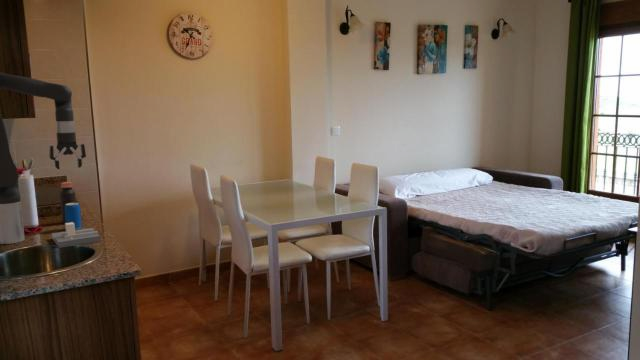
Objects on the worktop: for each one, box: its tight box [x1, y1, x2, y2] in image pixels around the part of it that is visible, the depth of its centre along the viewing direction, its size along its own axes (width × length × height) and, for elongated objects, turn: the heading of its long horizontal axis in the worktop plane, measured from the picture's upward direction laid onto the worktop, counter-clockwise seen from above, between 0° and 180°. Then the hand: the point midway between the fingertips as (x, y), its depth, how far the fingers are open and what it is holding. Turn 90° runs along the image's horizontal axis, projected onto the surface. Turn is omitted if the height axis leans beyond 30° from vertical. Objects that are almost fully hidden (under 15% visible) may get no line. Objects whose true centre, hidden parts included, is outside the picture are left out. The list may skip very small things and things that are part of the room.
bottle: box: [59, 181, 77, 224], centre depth 257 cm, size 7×7×20 cm
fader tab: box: [64, 222, 75, 235], centre depth 221 cm, size 3×4×5 cm
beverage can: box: [65, 202, 82, 230], centre depth 244 cm, size 6×6×12 cm
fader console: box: [51, 227, 101, 249], centre depth 224 cm, size 16×18×3 cm
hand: (69, 168), depth 229 cm, fingers open, 8 cm apart
